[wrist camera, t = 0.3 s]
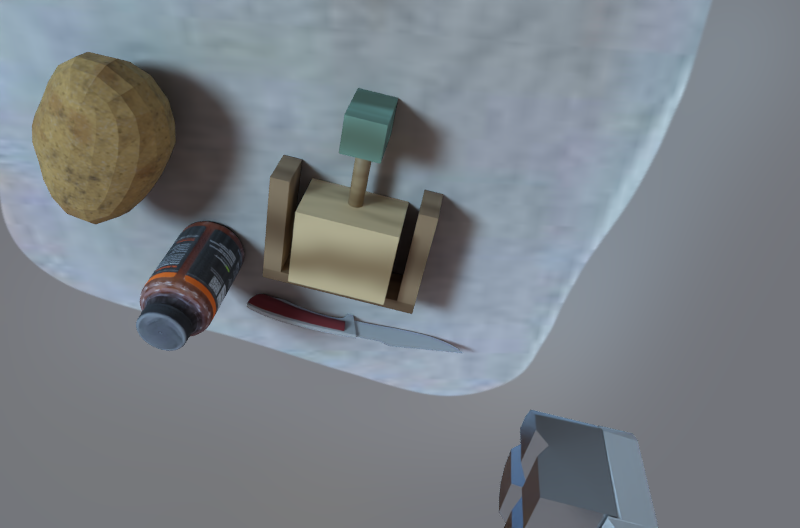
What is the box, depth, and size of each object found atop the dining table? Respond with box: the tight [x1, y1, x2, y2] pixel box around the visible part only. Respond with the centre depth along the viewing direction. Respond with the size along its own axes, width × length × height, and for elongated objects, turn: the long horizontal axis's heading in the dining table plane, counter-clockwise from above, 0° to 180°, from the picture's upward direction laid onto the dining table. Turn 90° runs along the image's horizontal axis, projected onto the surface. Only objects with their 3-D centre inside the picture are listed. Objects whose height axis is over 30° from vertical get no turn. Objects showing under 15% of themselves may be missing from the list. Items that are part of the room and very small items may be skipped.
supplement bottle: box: [136, 221, 244, 351], centre depth 55 cm, size 6×6×11 cm
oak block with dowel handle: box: [288, 88, 409, 305], centre depth 51 cm, size 16×8×5 cm, turn 169°
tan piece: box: [263, 155, 443, 314], centre depth 54 cm, size 10×13×4 cm
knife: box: [247, 294, 463, 353], centre depth 61 cm, size 20×1×3 cm, turn 81°
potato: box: [32, 52, 176, 224], centre depth 49 cm, size 10×14×8 cm
